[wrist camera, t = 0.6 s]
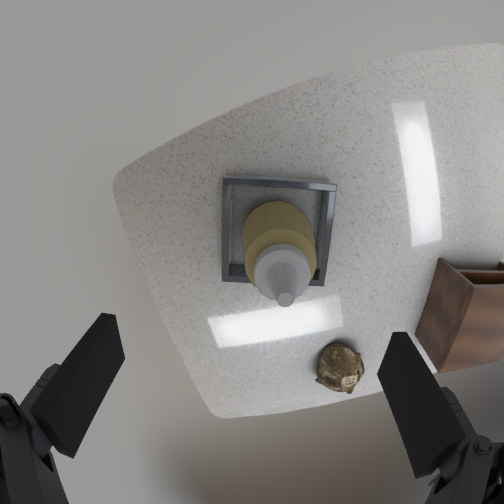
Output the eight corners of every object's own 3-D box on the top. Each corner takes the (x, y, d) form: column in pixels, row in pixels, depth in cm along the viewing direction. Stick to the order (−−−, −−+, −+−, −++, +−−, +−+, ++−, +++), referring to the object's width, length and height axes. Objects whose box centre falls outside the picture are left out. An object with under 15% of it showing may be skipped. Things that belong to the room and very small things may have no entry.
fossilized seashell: (353, 394, 45) (375, 345, 43) (343, 413, 39) (369, 362, 37) (315, 378, 48) (334, 329, 46) (301, 395, 42) (322, 343, 40)
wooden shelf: (438, 257, 38) (474, 288, 28) (502, 261, 37) (536, 286, 28) (414, 334, 43) (438, 373, 33) (477, 328, 42) (503, 359, 33)
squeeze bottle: (244, 193, 36) (227, 241, 19) (310, 196, 36) (351, 248, 19) (242, 254, 39) (227, 342, 22) (304, 257, 38) (331, 345, 22)
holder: (226, 174, 35) (222, 177, 32) (330, 180, 35) (336, 184, 31) (225, 269, 40) (222, 281, 36) (319, 274, 39) (323, 286, 36)
